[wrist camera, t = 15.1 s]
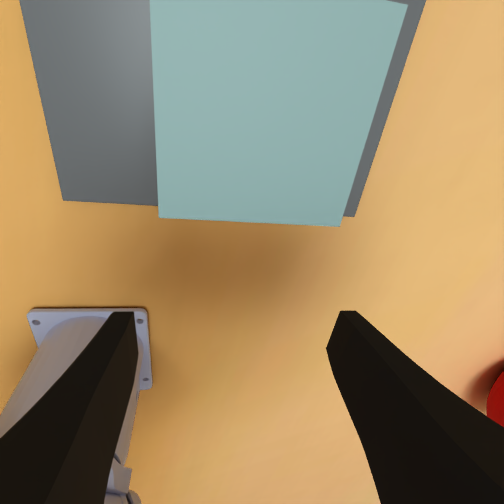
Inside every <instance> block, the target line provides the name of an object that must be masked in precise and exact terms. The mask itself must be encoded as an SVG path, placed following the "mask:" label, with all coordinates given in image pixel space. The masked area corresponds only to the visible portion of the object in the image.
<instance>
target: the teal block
mask: <svg viewBox="0 0 504 504" xmlns="http://www.w3.org/2000/svg"><path fill="white" fill-rule="evenodd" d="M407 7H408V5H407V4H402V3H397V2H392V1H387V0H150V22H151V46H152V70H153V93H154V117H155V140H156V164H157V188H158V211H159V218H174V219H194V220H214V221H234V222H255V223H275V224H295V225H315V226H336V227H340V224H341V220H342V217H343V214H344V211H345V207H346V204H347V201H348V198H349V195H350V191H351V188H352V185H353V182H354V178H355V175H356V172H357V169H358V165H359V162H360V159H361V156H362V152H363V149H364V146H365V143H366V140H367V136H368V133H369V130H370V127H371V123H372V120H373V117H374V114H375V110H376V107H377V104H378V101H379V97H380V94H381V91H382V88H383V85H384V81H385V78H386V75H387V72H388V68H389V65H390V62H391V59H392V55H393V52H394V49H395V46H396V43H397V39H398V36H399V33H400V30H401V26H402V23H403V20H404V17H405V13H406V10H407Z"/></svg>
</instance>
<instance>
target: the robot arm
mask: <svg viewBox="0 0 504 504" xmlns="http://www.w3.org/2000/svg"><path fill="white" fill-rule="evenodd" d="M27 319H28V322H29V324H30V327H31V330H32V333H33V335H34V338H35V341H36V344H37V346H38V350H37V352H36V353H35V355H34V357H33V359H32V360H31V362H30V364H29V366H28V367H27V369H26V371H25V373H24V374H23V376H22V378H21V380H20V381H19V383H18V385H17V387H16V388H15V390H14V392H13V394H12V395H11V397H10V399H9V401H8V402H7V404H6V406H5V408H4V409H3V411H2V413H1V415H0V504H141V500H140V498H139V496H138V494H137V493H135V492H134V491H132V490H129V484H130V478H131V472H132V469H131V468H127V467H125V466H124V464H125V462H126V459H127V455H128V451H129V445H130V440H131V435H132V430H133V424H134V419H135V414H136V408H137V403H138V398H139V392H140V390H147V389H150V388H151V387H152V384H153V381H152V368H151V355H150V343H149V330H148V317H147V311H146V310H145V309H142V308H82V309H31V310H30V311H29V312H28V314H27ZM139 319H142V320H139ZM37 320H38V321H37ZM326 350H327V354H328V358H329V362H330V365H331V369H332V372H333V375H334V378H335V380H336V383H337V385H338V388H339V390H340V392H341V395H342V397H343V400H344V402H345V404H346V407H347V409H348V412H349V414H350V416H351V419H352V421H353V423H354V426H355V428H356V431H357V433H358V435H359V438H360V440H361V443H362V446H363V448H364V451H365V454H366V457H367V460H368V463H369V466H370V470H371V473H372V476H373V479H374V482H375V485H376V489H377V492H378V496H379V499H380V502H381V504H504V427H503V426H501V425H499V424H498V423H496V422H495V421H493V420H492V419H490V418H488V417H487V416H486V415H484V414H483V413H481V412H480V411H478V410H477V409H475V408H474V407H472V406H471V405H469V404H468V403H467V402H465V401H464V400H462V399H461V398H460V397H458V396H457V395H456V394H454V393H453V392H451V391H450V390H449V389H447V388H446V387H445V386H443V385H442V384H441V383H439V382H438V381H437V380H436V379H434V378H433V377H432V376H431V375H429V374H428V373H427V372H426V371H424V370H423V369H422V368H421V367H420V366H418V365H417V364H416V363H415V362H414V361H412V360H411V359H410V358H409V357H408V356H406V355H405V354H404V353H403V352H402V351H401V350H400V349H398V348H397V347H396V346H395V345H394V344H393V343H392V342H391V341H389V340H388V339H387V338H386V337H385V336H384V335H383V334H382V333H380V332H379V331H378V330H377V329H376V328H375V327H374V326H373V325H372V324H370V323H369V322H368V321H367V320H366V319H365V318H364V317H363V316H361V315H360V314H359V313H358V312H357V311H340V313H339V315H338V318H337V321H336V323H335V326H334V329H333V331H332V334H331V337H330V339H329V342H328V345H327V347H326Z"/></svg>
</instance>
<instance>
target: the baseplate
mask: <svg viewBox="0 0 504 504" xmlns="http://www.w3.org/2000/svg"><path fill="white" fill-rule="evenodd" d="M19 1H20V6H21V10H22V15H23V19H24V24H25V28H26V33H27V38H28V42H29V47H30V51H31V56H32V60H33V65H34V70H35V74H36V79H37V83H38V88H39V93H40V97H41V102H42V106H43V111H44V115H45V120H46V125H47V129H48V134H49V138H50V143H51V147H52V152H53V157H54V161H55V166H56V170H57V175H58V179H59V184H60V189H61V193H62V198H63V200H64V201H81V202H99V203H117V204H135V205H152V206H158V188H157V164H156V140H155V117H154V93H153V70H152V46H151V22H150V0H19ZM387 1H392V2H397V3H402V4H407V5H408V7H407V10H406V13H405V17H404V20H403V23H402V26H401V30H400V33H399V36H398V39H397V43H396V46H395V49H394V52H393V55H392V59H391V62H390V65H389V68H388V72H387V75H386V78H385V81H384V85H383V88H382V91H381V94H380V97H379V101H378V104H377V107H376V110H375V114H374V117H373V120H372V123H371V127H370V130H369V133H368V136H367V140H366V143H365V146H364V149H363V152H362V156H361V159H360V162H359V165H358V169H357V172H356V175H355V178H354V182H353V185H352V188H351V191H350V195H349V198H348V201H347V204H346V207H345V211H344V214H343V216H347V217H354V216H355V213H356V210H357V207H358V204H359V201H360V198H361V195H362V192H363V189H364V186H365V183H366V180H367V177H368V174H369V171H370V168H371V165H372V162H373V159H374V156H375V153H376V150H377V147H378V144H379V141H380V138H381V135H382V132H383V129H384V126H385V123H386V120H387V117H388V114H389V111H390V108H391V105H392V102H393V99H394V96H395V93H396V90H397V87H398V84H399V81H400V78H401V75H402V72H403V69H404V65H405V62H406V59H407V56H408V53H409V50H410V47H411V44H412V41H413V38H414V35H415V32H416V29H417V26H418V23H419V20H420V17H421V14H422V11H423V8H424V5H425V2H426V0H387Z"/></svg>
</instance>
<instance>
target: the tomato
mask: <svg viewBox="0 0 504 504" xmlns="http://www.w3.org/2000/svg"><path fill="white" fill-rule="evenodd" d="M487 417H488V418H490V419H492V420H493V421H495V422H496V423H498V424H499V425H501V426H503V427H504V371H503V372H502V373H501V374H500V376H499V377H498V378H497V380H496V381H495V383H494V384H493V386H492V388H491V390H490V393H489V396H488V399H487Z"/></svg>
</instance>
